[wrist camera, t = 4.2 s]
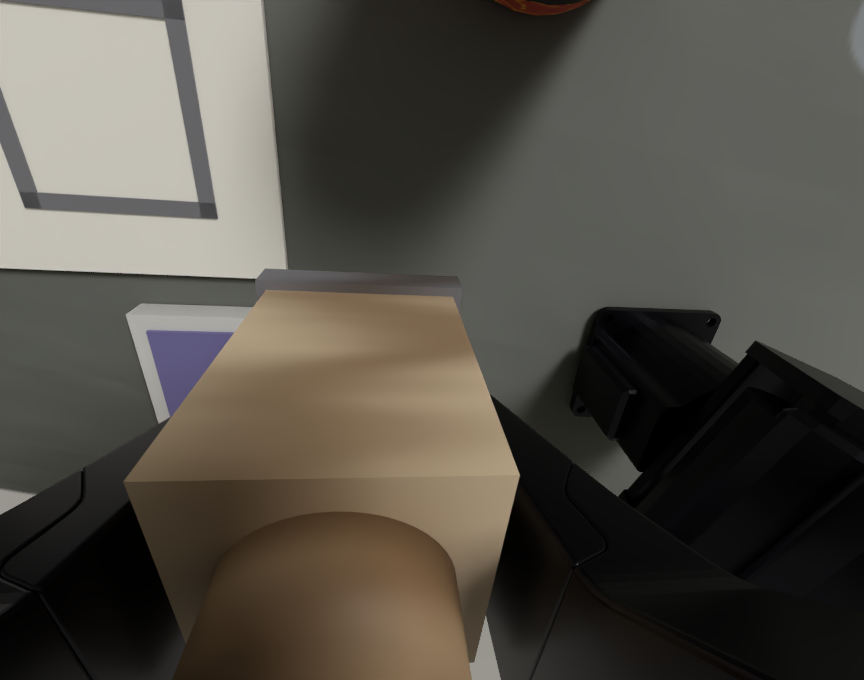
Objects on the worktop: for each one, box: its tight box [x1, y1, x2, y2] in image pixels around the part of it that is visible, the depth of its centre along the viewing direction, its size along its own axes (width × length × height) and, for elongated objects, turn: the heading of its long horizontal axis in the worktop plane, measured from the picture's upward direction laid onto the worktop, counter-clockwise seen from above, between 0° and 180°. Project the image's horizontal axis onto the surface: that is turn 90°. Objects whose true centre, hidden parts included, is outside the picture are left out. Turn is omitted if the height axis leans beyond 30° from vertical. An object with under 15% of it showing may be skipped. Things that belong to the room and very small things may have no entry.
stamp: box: [123, 268, 520, 680], centre depth 7 cm, size 4×4×7 cm
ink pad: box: [126, 304, 253, 423], centre depth 19 cm, size 9×7×1 cm
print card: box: [0, 0, 288, 279], centre depth 14 cm, size 12×12×1 cm
